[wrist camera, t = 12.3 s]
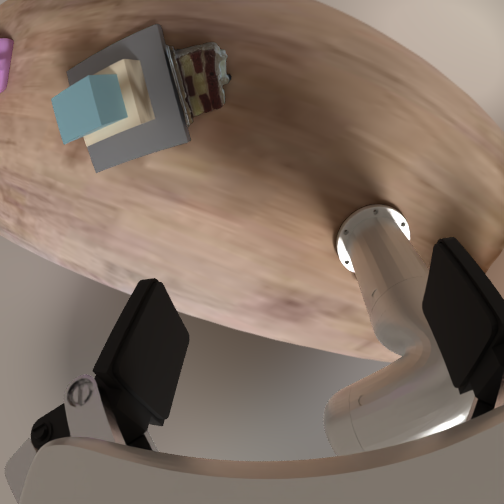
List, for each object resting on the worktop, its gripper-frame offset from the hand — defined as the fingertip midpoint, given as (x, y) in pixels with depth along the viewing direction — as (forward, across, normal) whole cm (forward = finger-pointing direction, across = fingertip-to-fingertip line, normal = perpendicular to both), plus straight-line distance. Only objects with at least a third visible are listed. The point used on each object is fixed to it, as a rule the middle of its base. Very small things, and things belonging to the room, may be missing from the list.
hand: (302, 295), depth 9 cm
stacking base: (+30, +20, -11) cm, 38 cm away
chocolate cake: (+31, +8, -10) cm, 33 cm away
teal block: (+24, +20, -11) cm, 33 cm away
